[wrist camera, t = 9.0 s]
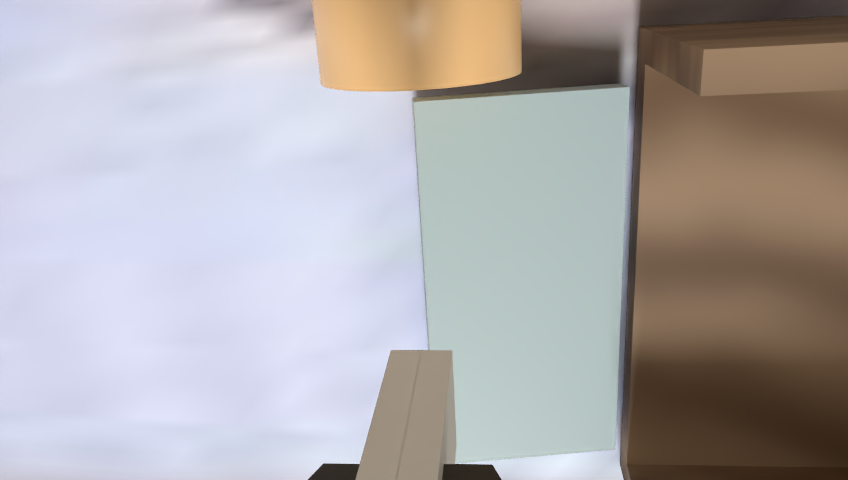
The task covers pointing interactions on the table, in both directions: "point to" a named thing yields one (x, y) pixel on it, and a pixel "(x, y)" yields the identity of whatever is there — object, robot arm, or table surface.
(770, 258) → the brown open rectangular box
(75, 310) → the table surface
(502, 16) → the peach pillar candle
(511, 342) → the panel
